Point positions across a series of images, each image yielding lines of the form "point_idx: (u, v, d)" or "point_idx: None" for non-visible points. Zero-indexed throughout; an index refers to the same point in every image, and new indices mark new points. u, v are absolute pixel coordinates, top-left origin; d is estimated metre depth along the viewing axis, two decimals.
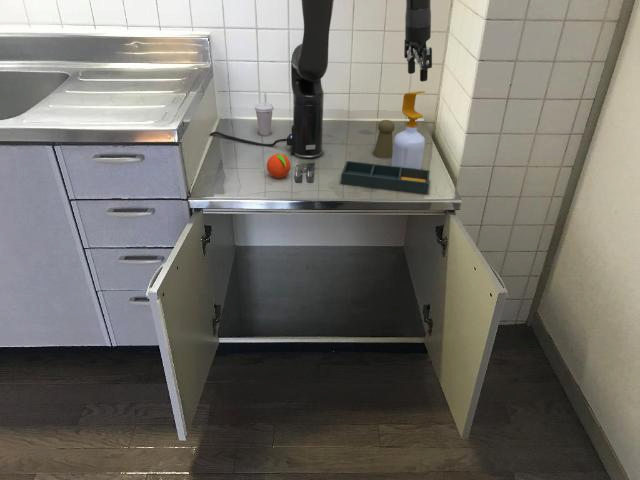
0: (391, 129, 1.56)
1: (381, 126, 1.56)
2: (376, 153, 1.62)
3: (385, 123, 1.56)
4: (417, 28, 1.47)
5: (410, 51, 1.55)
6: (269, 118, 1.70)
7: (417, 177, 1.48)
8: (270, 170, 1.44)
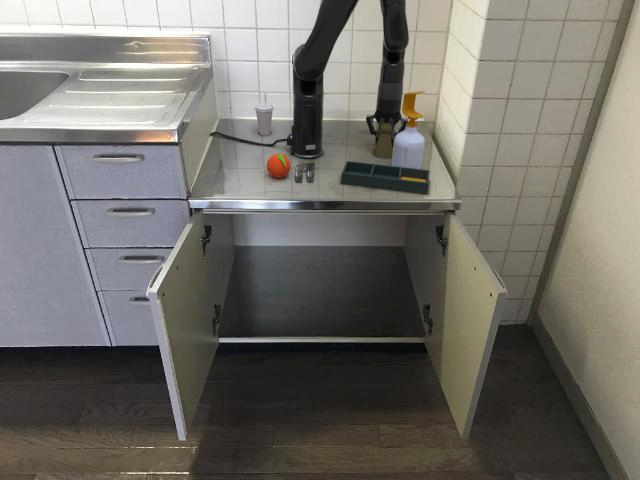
0: (391, 129, 1.56)
1: (381, 126, 1.56)
2: (376, 153, 1.62)
3: (385, 123, 1.56)
4: (400, 99, 1.51)
5: (383, 122, 1.56)
6: (269, 118, 1.70)
7: (417, 177, 1.48)
8: (270, 170, 1.44)
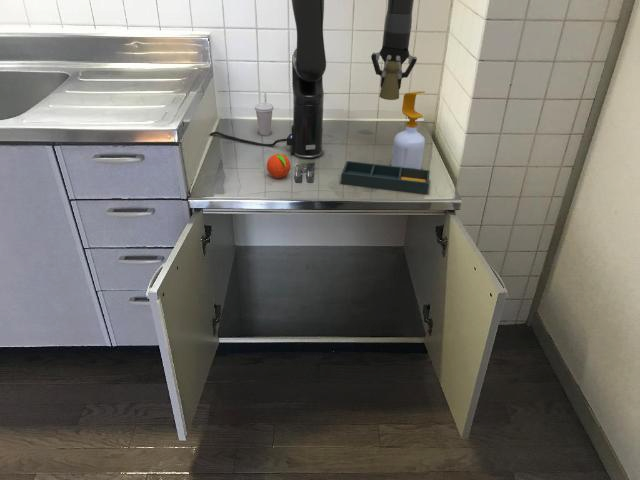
0: (398, 68, 1.46)
1: (387, 64, 1.46)
2: (381, 95, 1.51)
3: (392, 61, 1.45)
4: (408, 33, 1.40)
5: (390, 60, 1.45)
6: (269, 118, 1.70)
7: (417, 177, 1.48)
8: (270, 170, 1.44)
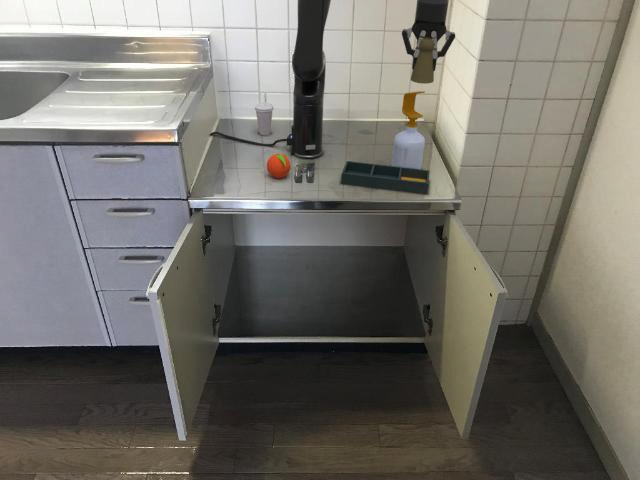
0: (433, 45, 1.25)
1: (420, 41, 1.25)
2: (413, 79, 1.30)
3: (427, 38, 1.25)
4: (446, 4, 1.20)
5: (424, 36, 1.24)
6: (269, 118, 1.70)
7: (417, 177, 1.48)
8: (270, 170, 1.44)
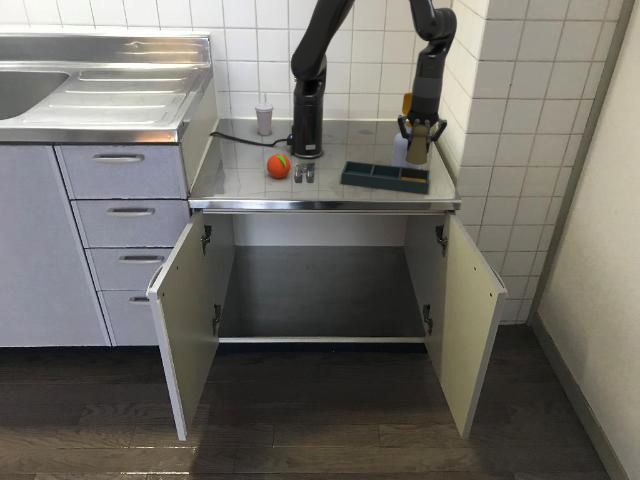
0: (427, 132, 1.34)
1: (415, 128, 1.34)
2: (408, 159, 1.40)
3: (420, 125, 1.34)
4: (438, 97, 1.29)
5: (418, 124, 1.34)
6: (269, 118, 1.70)
7: (417, 177, 1.48)
8: (270, 170, 1.44)
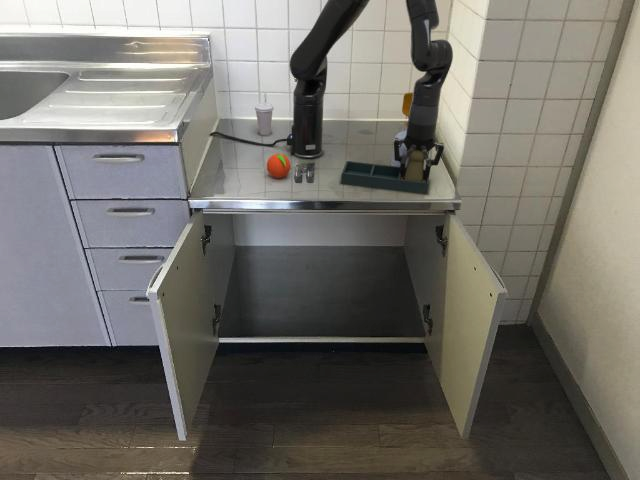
0: (423, 157, 1.38)
1: (411, 153, 1.38)
2: None
3: (417, 151, 1.38)
4: (434, 124, 1.33)
5: (414, 149, 1.38)
6: (269, 118, 1.70)
7: None
8: (270, 170, 1.44)
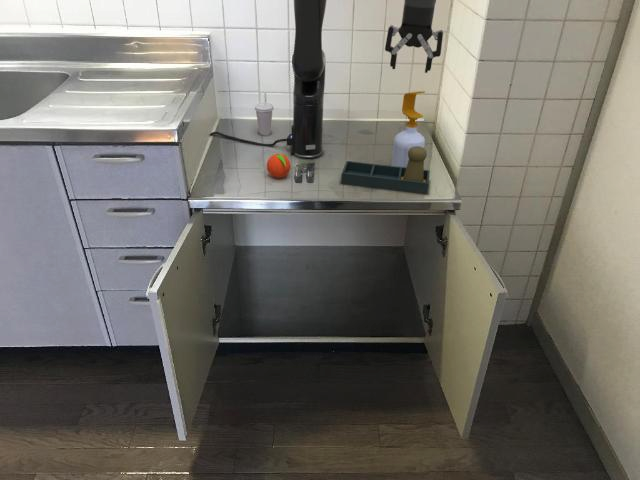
0: (423, 157, 1.38)
1: (411, 153, 1.38)
2: None
3: (417, 151, 1.38)
4: (432, 8, 1.22)
5: (409, 39, 1.27)
6: (269, 118, 1.70)
7: None
8: (270, 170, 1.44)
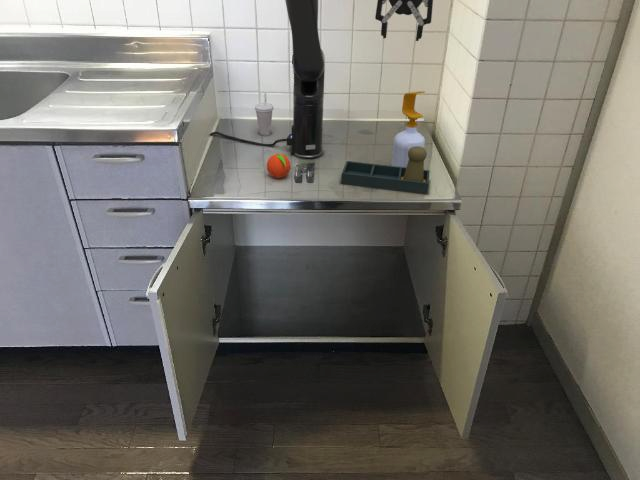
0: (423, 157, 1.38)
1: (411, 153, 1.38)
2: None
3: (417, 151, 1.38)
4: None
5: (399, 7, 1.26)
6: (269, 118, 1.70)
7: None
8: (270, 170, 1.44)
